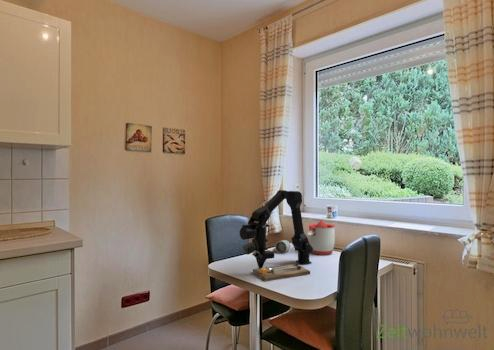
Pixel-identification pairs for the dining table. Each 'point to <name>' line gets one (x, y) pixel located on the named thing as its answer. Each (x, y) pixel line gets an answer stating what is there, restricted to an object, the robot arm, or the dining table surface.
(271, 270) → the tong arm
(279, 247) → the ceramic mug
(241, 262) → the dining table surface
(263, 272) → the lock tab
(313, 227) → the citrus juicer
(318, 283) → the dining table surface
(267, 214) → the robot arm
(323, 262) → the dining table surface
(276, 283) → the dining table surface
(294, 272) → the tong board
